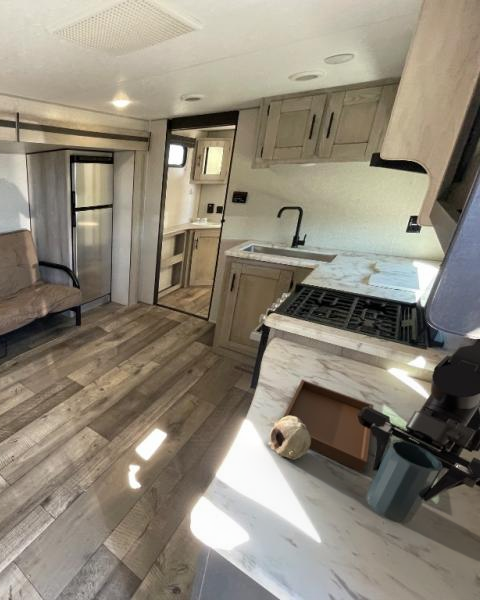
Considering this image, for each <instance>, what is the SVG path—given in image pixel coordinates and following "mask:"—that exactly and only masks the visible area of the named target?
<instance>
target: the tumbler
mask: <svg viewBox="0 0 480 600" xmlns="http://www.w3.org/2000/svg"><path fill="white" fill-rule="evenodd" d="M442 470H443V465H442V463H441V462H440V460H439V459H438V458H437V457H436V456H435V455H433V454H432V453H431V452H429V451H427V450H426V449H424V448H422V447H420V446H418V445H415V444H413V443H410V442H406V441H403V440H401V439H394V440H391V442H390V443H389V445H388V447H387V450H386V452H385V454H384V456H383V458H382V460H381V462H380V465H379V467H378V469H377V470H376V471H375V473H374V475H373V477H372V479H371V482H370V484H369V486H368V488H367V490H366V493H365V499H366V502H367V503H368V505H369V506H370V507H371V508H372V509H373V510H374V511H375V512H376V513H377V514H379V516H382V517H383V518H385V519H387V520H388V521H391V522H393V523H396V524H400V525H408V524H411V523H412V522H413V520H414V519H415V518H416V516H417V514H418V513H419V511H420V509H421V508H422V506H423V504H424V502H425V501H424V500H423V499H424V497H425V495H426V494H427V492H428V491H429V490H430V489H431V488H432V487H433V486H434V485H435V483H436V482H437V479H438V477H439V475H440V474H441V471H442Z"/></svg>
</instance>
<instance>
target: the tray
mask: <svg viewBox="0 0 480 600" xmlns="http://www.w3.org/2000/svg"><path fill="white" fill-rule="evenodd" d="M300 380H301V381H300V383H299V384H298V386H297V388H296V390H295V392H294V395H293V397H292V399H291V400H290V403H289V405H288V407H287V409H286V411H285V413H284V415H283V417H286V416H295V417H297V418H299V419H300V420H301V421H302V423H303V424H304V425H305V426H306V429H307V431H308V432H309V434H310V437H311V444H310V447H309V449H310V450H313V451H315V452H317V453H318V454H321V455H323V456H326V457H327V458H330V459H332V460H334V461H336V462H338V463H340V464H343V465H345V466H347V467H349V468H351V469H354V470H356V471H357V472H360V473H364V470H365V468H366V466H367V464H368V458H369V451H370V440H371V430H370V429H368V428H366V427H364V426H363V425H361V424H360V423H359V419H358V416H357V415H358V414H359V412H360V411H361V409H362V408H364V407H370V408H372V409H374V406H375V405H374V404H372V403H371V402H370V403H369V402H367V401H364V400H361V399H358V398H355V397H354V396H353V397H352V396H350V395H346V394H345V393H342V392H339V391H336V390H333V389H330V388H327V387H324V386H321V385H319V384H316V383H313V382H311V381H307V380H305V379H300Z"/></svg>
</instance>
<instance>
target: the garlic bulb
mask: <svg viewBox="0 0 480 600" xmlns="http://www.w3.org/2000/svg"><path fill="white" fill-rule="evenodd" d="M310 444H311V437H310V434H309V432H308V431H307V429H306V426H305V425H304V424H303V423H302V421H301V420H300V419H299V418H297V417H295V416H286V417H284V416H283V417H282V418H280V419H279V420H277V421H276V422H275V423H274V426H273V427H272V428H271V430H270V433H269V442H268V445H269V447H270V448H271V450H273V451H274V452H275V453H276V454H277V455H278V456H280V457H285V458H287V459H290V460H298V459H300V458H301V457H303V456H304V455H305V454H306V453H307V452H308V451H309V449H310V448H309V447H310Z"/></svg>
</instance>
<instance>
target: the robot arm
mask: <svg viewBox="0 0 480 600" xmlns="http://www.w3.org/2000/svg"><path fill="white" fill-rule="evenodd" d="M430 385H431V386H430V394H429V396H428V397H427V399H426V401H425V402H424V404H423V405H422V406H421V407H420V409H419V410H415V411H414V412H413V414H412V416H411V417H410V418H409V420H408V422H407V423H406V425H405V429H403V428H402V427H400V426H397V425H396V424H394V423H391V418H390V416H389V415H387V414H385V413H383V412H381V411H378V410H376V409H375V408H373V409H372V408H370V407H364V408H362V409H361V411H360V412H359V414H358V415H357V416H358V419H359V423H360V424H361V425H363V426H364V427H366V428H368V429H370V430H371V433H370V435H372V436H373V437H375V442H376V443H375V445H376V446H375V453H374V459H373V466H372V470H373V471H374V472H376V471H377V469H378V467H379V465H380V462H381V460H382V458H383V456H384V454H385V452H386V450H387V447H388V445H389V443H390V442H392V440H391V439H392V437H393V436H394V437H395V438H397V439H398V440H402V441H406V442H410V443H413V444H415V445H418V446H420V447H422V448H424V449H426V450H427V451H429V452H431V453H432V454H433V455H435V456H436V457H437V458H438V459H439V460H440V462H441V463H442V467H446V468H448V470H446V472H445V473H444V475H442V477H440V478H439V480H438V481H436V482H435V483H434V484H433V486H432V488H431V489H430V490H429V491H428V492H427V494H426V495H425V497H424V499H423V500H424V502H428V501H430V500H433V499H435V497H438V496H439V495H442V493H444V492H447V491H448V490H451V489H454V488H457V487H460V486H463V485H464V486H467V487H468V488H471V489H473V488H474V487H475V486H477V487H479V488H480V459H479V458H477V457H473V458H472V459H471V461H468V460H467V459H464V458H463V457H461V454H462V452H463V451H464V450H466V451H468V452H470V453H472V452H479V451H480V339H477V338H476V340H475V341H474V342H473V343H471V344H469V345H463V346H459V347H458V348H457V349H456V350H455V351H454V353H452V355H449V354H447V355H446V356H444V358H443V359H441V361H439V362H438V364H436V366H435V367H434V368H433V372H432V376H431V384H430Z"/></svg>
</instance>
